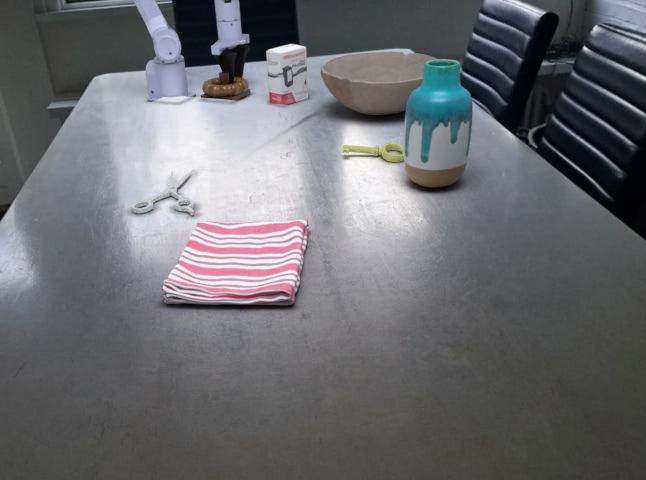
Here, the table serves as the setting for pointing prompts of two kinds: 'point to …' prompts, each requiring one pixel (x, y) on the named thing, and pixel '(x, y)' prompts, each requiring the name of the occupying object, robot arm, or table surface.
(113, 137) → the table surface
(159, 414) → the table surface
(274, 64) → the ink box
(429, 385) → the table surface
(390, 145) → the key
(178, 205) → the scissors
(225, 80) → the brown peg stand
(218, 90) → the brown beaded ring
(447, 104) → the vase
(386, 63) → the bowl
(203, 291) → the dish towel
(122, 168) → the table surface
